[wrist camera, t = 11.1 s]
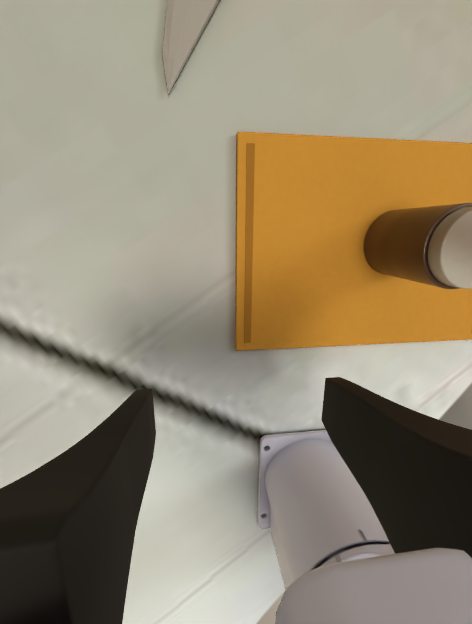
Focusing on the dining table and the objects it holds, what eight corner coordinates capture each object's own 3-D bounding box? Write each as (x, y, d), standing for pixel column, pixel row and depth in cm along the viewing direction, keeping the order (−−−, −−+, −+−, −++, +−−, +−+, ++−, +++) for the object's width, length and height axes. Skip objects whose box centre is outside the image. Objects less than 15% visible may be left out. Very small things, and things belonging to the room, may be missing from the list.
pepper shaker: (416, 273, 21) (506, 292, 15) (359, 274, 21) (429, 294, 15) (426, 210, 20) (529, 201, 14) (367, 209, 20) (446, 200, 13)
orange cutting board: (476, 337, 24) (481, 339, 24) (235, 348, 22) (236, 351, 21) (522, 147, 20) (530, 145, 20) (236, 133, 18) (237, 131, 17)
